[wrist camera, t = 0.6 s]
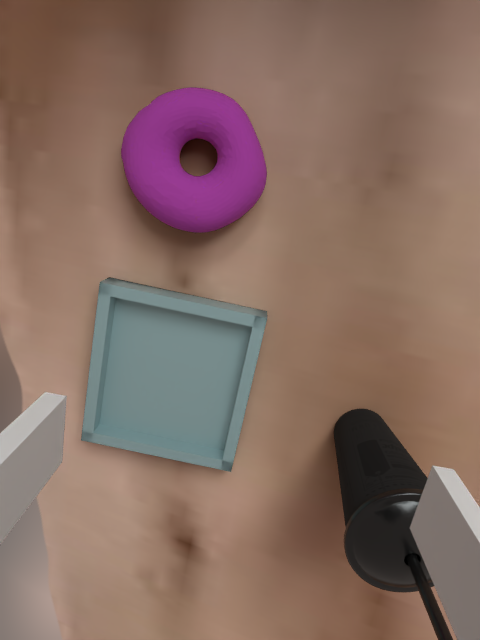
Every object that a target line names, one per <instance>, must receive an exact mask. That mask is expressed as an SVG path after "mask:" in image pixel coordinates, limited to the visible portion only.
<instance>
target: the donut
mask: <svg viewBox="0 0 480 640" xmlns="http://www.w3.org/2000/svg"><path fill="white" fill-rule="evenodd" d="M195 138H199V139H204V140H206V141H209V142H210V143H211V144H212V145H213V146H214V147H215V149H216V151H217V154H218V159H217V163H216V165H215V167H214V169H213V170H212V171H211V172H209V173H208V174H206V175H203V176H193V175H190V174H188V173H187V172H186V171H185V170H184V169H183V168H182V166H181V163H180V152H181V149H182V147H183V145H184V144H185V143H186V142H188V141H189V140H191V139H195ZM121 157H122V160H123V164H124V170H125V174H126V177H127V180H128V183H129V186H130V188H131V190H132V192H133V193H134V195H135V196H136V198H137V199H138V201H139V202H140V203H141V204H142V205H143V206H144V207H145V209H146V210H147V211H148V212H150V213H151V214H152V215H153V216H155V217H156V218H157V219H159V220H160V221H162V222H164V223H165V224H167V225H169V226H172V227H174V228H177V229H180V230H185V231H189V232H210V231H214V230H217V229H220V228H222V227H225V226H227V225H228V224H230V223H232V222H234V221H236V220H237V219H239V218H240V217H242V216H243V215H244V214H245V213H246V212H247V211H249V210H250V209H251V208H252V207H253V206H254V205H255V203H256V202H257V201H258V199H259V198H260V196H261V194H262V192H263V190H264V188H265V184H266V177H267V171H266V164H265V160H264V156H263V152H262V149H261V146H260V143H259V141H258V138H257V136H256V133H255V131H254V128H253V126H252V124H251V122H250V120H249V118H248V116H247V114H246V113H245V112H244V110H243V109H242V108H241V107H240V105H239V104H238V103H237V102H236V101H234V100H233V99H232V98H230V97H228V96H226V95H225V94H223V93H220V92H217V91H214V90H209V89H203V88H192V87H191V88H183V89H178V90H174V91H170V92H167V93H165V94H162V95H160V96H158V97H157V98H156V99H155V100H153V101H152V102H151V104H149V105H148V106H146V107H145V108H143V109H142V110H141V111H139V112H138V114H137V115H136V116H135V117H134V119H133V120H132V121H131V123H130V124H129V125H128V127H127V130H126V132H125V135H124V138H123V144H122V149H121Z"/></svg>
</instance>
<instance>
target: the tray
mask: <svg viewBox="0 0 480 640" xmlns="http://www.w3.org/2000/svg"><path fill="white" fill-rule="evenodd" d="M266 321H267V311H263V310H259V309H254V308H249V307H245V306H240V305H235V304H231V303H226V302H221V301H217V300H212V299H207V298H203V297H198V296H194V295H189V294H184V293H180V292H175V291H170V290H166V289H161V288H156V287H152V286H147V285H142V284H138V283H133V282H128V281H124V280H119V279H114V278H110V277H109V278H107V279H105V280H103V281H101V282H100V286H99V294H98V303H97V311H96V319H95V328H94V336H93V345H92V353H91V362H90V370H89V378H88V387H87V395H86V404H85V412H84V420H83V429H82V437H81V440H82V441H87V442H92V443H97V444H101V445H106V446H111V447H116V448H120V449H125V450H130V451H135V452H139V453H144V454H149V455H154V456H158V457H163V458H168V459H172V460H177V461H182V462H187V463H191V464H196V465H201V466H206V467H210V468H215V469H220V470H225V471H229V472H231V469H232V465H233V461H234V457H235V452H236V448H237V444H238V440H239V435H240V431H241V427H242V423H243V418H244V414H245V410H246V406H247V401H248V397H249V393H250V389H251V384H252V380H253V376H254V372H255V367H256V363H257V359H258V355H259V350H260V346H261V342H262V338H263V334H264V329H265V325H266Z"/></svg>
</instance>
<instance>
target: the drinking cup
mask: <svg viewBox="0 0 480 640" xmlns="http://www.w3.org/2000/svg"><path fill="white" fill-rule="evenodd" d="M334 439H335V447H336V455H337V463H338V471H339V479H340V486H341V494H342V502H343V510H344V518H345V525H346V529H345V534H344V548H345V553H346V557H347V559H348V562H349V564H350V565H351V567H352V569H353V570H354V571H355V572H356V573H357V574H358V575H359V576H360V577H361V578H362V579H363V580H364V581H366V582H367V583H369V584H371V585H373V586H375V587H377V588H380V589H383V590H387V591H392V592H415V591H419V593H420V595H421V598H422V600H423V603H424V605H425V608H426V610H427V613H428V615H429V618H430V620H431V623H432V625H433V628H434V631H435V633H436V636H437V638H438V640H453V638H452V636H451V634H450V631H449V629H448V627H447V624H446V622H445V620H444V618H443V615H442V613H441V611H440V608H439V606H438V604H437V601H436V599H435V597H434V594H433V592H432V590H431V587H433V586H434V584H433V581H432V579H431V577H430V574H429V572H428V570H427V567H426V565H425V563H424V560H423V558H422V556H421V553H420V551H419V549H418V546H417V544H416V542H415V539H414V537H413V535H412V532H411V530H410V525H411V523H412V520H413V517H414V514H415V512H416V509H417V506H418V504H419V501H420V498H421V495H422V493H423V490H424V487H425V485H426V482H427V479H428V478H427V477H426V476H425V474H424V473H423V472H422V470H421V469H420V468H419V466H418V465H417V464H416V462H415V461H414V460H413V458H412V457H411V456H410V455H409V453H408V452H407V451H406V449H405V448H404V447H403V445H402V444H401V443H400V441H399V440H398V439H397V437H396V436H395V435H394V434H393V432H392V431H391V430H390V428H389V427H388V426H387V424H386V423H385V422H384V420H383V419H382V418H381V417H380V416H379V415H378V414H377V413H375V412H373V411H371V410H367V409H355V410H351V411H349V412H347V413H345V414H344V415H342V416H341V417H340V418H339V420H338V421H337V423H336V425H335V428H334Z"/></svg>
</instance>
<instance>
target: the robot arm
mask: <svg viewBox="0 0 480 640" xmlns="http://www.w3.org/2000/svg"><path fill="white" fill-rule="evenodd" d="M66 397H67V396H64V395H59V394H53V393H48V392H45V393H44V394H42V395H41V396H40V397H39V398H38V399H37V400H36V401H35V402H34V403H33V404H32V405H31V406H29V407H28V408H27V409H26V410H25V411H24V412H23V413H22V414H21V415H20V416H19V417H17V418H16V419H15V421H13V422H12V423H11V424H10V425H9V426H8V427H7V428H6V429H5V430H3V431H2V432H1V433H0V545H1V543H2V542H3V541H4V539H5V538H6V537H7V535H8V534H9V532H10V531H11V530H12V529H13V527H14V526H15V525H16V523H17V522H18V521H19V519H20V518H21V516H22V515H23V514H24V512H25V511H26V510H27V508H28V507H29V506H30V504H31V503H32V502H33V500H34V499H35V498H36V496H37V495H38V494H39V492H40V491H41V490H42V488H43V487H44V486H45V484H46V483H47V482H48V480H49V479H50V478H51V476H52V475H53V473H54V472H55V471H56V469H57V468H58V467H59V465H60V464H61V463H62V456H63V441H64V427H65V412H66ZM410 530H411V532H412V535H413V537H414V539H415V542H416V544H417V546H418V549H419V551H420V553H421V556H422V558H423V560H424V563H425V565H426V567H427V570H428V572H429V574H430V577H431V579H432V581H433V584H434V586H435V588H436V591H437V593H438V595H439V598H440V600H441V602H442V605H443V607H444V609H445V612H446V614H447V616H448V619H449V621H450V624H451V626H452V628H453V631H454V633H455V635H456V638H457V640H480V507H479V506H478V504H477V503H476V501H475V500H474V498H473V497H472V496H471V494H470V493H469V491H468V490H467V488H466V487H465V485H464V484H463V482H462V481H461V479H460V478H459V476H458V475H457V473H456V472H455V470H454V469H449V468H444V467H438V466H432V468H431V471H430V474H429V476H428V479H427V482H426V485H425V487H424V490H423V493H422V495H421V498H420V501H419V504H418V506H417V509H416V512H415V514H414V517H413V520H412V523H411V525H410Z"/></svg>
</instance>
